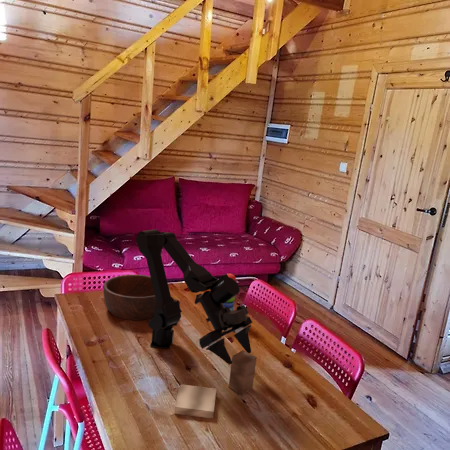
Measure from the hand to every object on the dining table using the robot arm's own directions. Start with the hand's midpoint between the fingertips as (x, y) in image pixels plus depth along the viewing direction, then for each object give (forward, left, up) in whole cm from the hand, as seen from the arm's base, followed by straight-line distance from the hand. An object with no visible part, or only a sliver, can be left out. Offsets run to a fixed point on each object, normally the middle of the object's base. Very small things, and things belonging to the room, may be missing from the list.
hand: (240, 358), depth 123 cm
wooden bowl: (-41, +43, -9) cm, 60 cm away
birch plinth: (-11, -11, -9) cm, 18 cm away
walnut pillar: (+1, -1, -9) cm, 9 cm away
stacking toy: (-6, +44, -9) cm, 46 cm away
